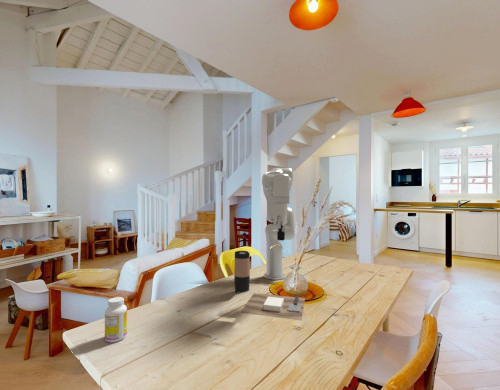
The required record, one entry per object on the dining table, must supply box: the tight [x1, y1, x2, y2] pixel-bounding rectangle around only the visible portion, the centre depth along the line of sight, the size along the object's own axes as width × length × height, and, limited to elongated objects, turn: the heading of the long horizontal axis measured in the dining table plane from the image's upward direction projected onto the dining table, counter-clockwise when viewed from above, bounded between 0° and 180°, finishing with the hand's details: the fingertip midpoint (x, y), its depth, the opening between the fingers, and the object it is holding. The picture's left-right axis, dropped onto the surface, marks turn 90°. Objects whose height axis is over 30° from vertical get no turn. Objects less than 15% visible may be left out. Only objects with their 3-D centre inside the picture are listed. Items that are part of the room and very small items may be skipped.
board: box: [240, 292, 306, 321], centre depth 112 cm, size 22×24×2 cm
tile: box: [264, 297, 284, 312], centre depth 110 cm, size 2×7×9 cm
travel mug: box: [233, 250, 251, 294], centre depth 130 cm, size 8×8×20 cm
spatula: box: [287, 295, 301, 312], centre depth 112 cm, size 15×5×1 cm, turn 164°
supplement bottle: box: [104, 296, 128, 343], centre depth 88 cm, size 7×7×13 cm
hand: (281, 239), depth 122 cm, fingers closed
